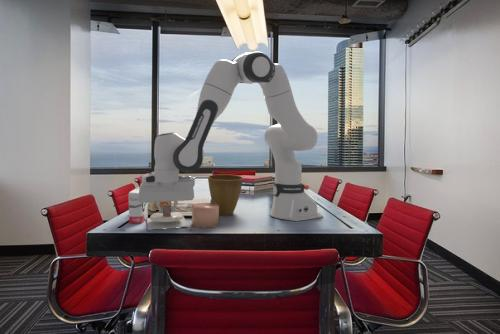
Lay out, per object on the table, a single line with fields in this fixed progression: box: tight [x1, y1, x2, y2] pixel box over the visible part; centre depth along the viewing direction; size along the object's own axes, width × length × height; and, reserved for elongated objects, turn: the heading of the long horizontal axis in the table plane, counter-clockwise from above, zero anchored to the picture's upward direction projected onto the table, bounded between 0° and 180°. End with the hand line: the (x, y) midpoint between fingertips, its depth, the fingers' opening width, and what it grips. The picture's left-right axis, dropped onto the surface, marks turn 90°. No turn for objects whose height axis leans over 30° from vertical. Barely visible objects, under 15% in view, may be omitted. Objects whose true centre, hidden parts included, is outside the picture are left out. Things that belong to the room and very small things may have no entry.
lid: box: [149, 204, 184, 222], centre depth 120 cm, size 12×12×5 cm
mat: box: [146, 216, 189, 231], centre depth 121 cm, size 14×14×1 cm
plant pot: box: [207, 173, 244, 217], centre depth 137 cm, size 15×15×16 cm
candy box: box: [148, 201, 172, 212], centre depth 141 cm, size 9×4×15 cm, turn 125°
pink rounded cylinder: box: [191, 202, 220, 228], centre depth 122 cm, size 10×10×7 cm
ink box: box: [128, 188, 149, 224], centre depth 124 cm, size 8×5×12 cm, turn 2°
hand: (166, 212), depth 121 cm, fingers closed on lid, 3 cm apart
